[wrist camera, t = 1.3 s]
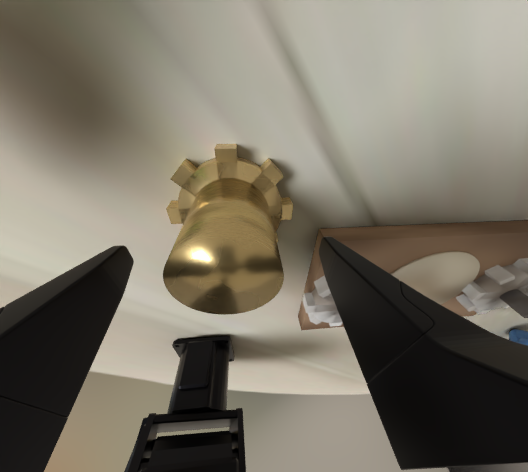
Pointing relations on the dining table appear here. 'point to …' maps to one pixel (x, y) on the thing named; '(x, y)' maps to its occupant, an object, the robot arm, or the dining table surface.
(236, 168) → the brass gear
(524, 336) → the grapes
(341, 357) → the dining table surface
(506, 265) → the gear board
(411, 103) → the dining table surface
